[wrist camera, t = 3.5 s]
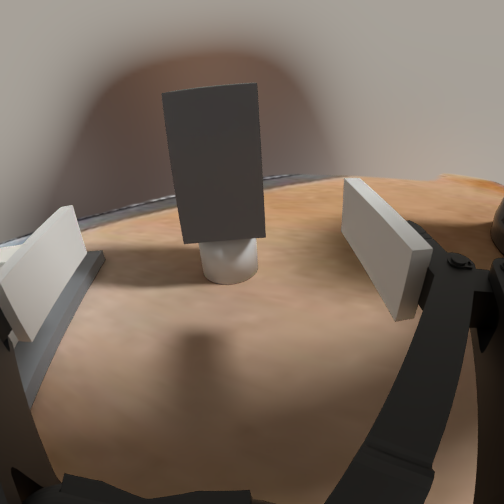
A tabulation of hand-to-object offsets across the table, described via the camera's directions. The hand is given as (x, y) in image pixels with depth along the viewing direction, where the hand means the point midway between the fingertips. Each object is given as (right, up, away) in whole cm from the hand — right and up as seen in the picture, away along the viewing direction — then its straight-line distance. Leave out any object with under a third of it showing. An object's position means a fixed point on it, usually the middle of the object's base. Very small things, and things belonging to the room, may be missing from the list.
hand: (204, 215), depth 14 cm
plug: (0, -3, +11) cm, 12 cm away
